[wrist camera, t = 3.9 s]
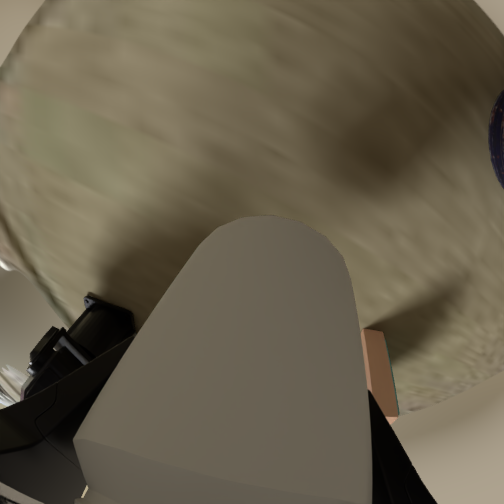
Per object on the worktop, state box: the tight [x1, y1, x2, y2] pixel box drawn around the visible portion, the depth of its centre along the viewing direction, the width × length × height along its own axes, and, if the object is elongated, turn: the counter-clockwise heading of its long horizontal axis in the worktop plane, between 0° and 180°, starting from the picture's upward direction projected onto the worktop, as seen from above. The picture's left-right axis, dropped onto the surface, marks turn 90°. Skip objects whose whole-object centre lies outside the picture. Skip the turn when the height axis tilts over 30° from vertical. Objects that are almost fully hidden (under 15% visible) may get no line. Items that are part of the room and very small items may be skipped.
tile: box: [361, 328, 399, 425], centre depth 21 cm, size 2×8×9 cm, turn 171°
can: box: [73, 215, 372, 504], centre depth 9 cm, size 8×8×12 cm
